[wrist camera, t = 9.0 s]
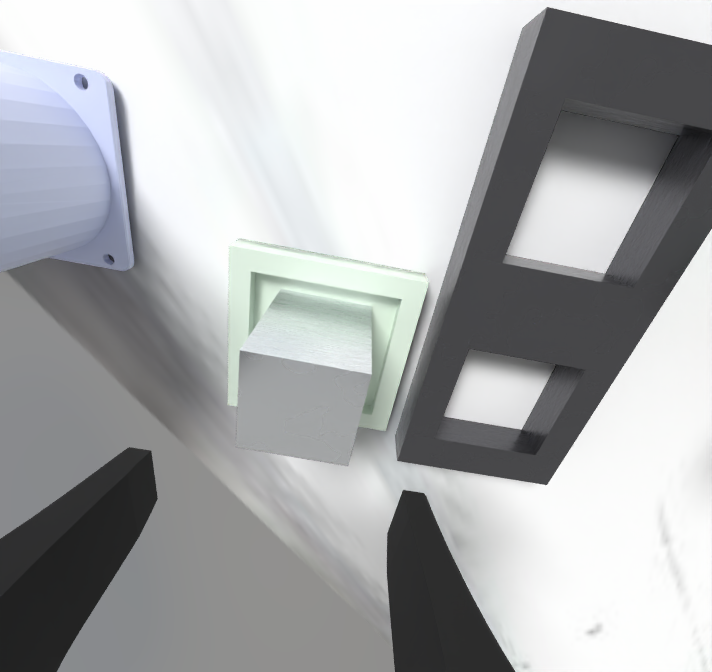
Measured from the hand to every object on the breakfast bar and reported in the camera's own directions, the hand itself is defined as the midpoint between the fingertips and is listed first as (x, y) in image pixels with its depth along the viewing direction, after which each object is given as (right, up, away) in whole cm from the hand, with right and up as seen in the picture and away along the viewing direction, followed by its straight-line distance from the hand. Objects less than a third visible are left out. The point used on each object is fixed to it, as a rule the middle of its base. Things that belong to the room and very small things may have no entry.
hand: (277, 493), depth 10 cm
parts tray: (0, +4, +9) cm, 10 cm away
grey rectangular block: (0, +5, +8) cm, 9 cm away
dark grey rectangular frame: (+11, +6, +7) cm, 15 cm away
